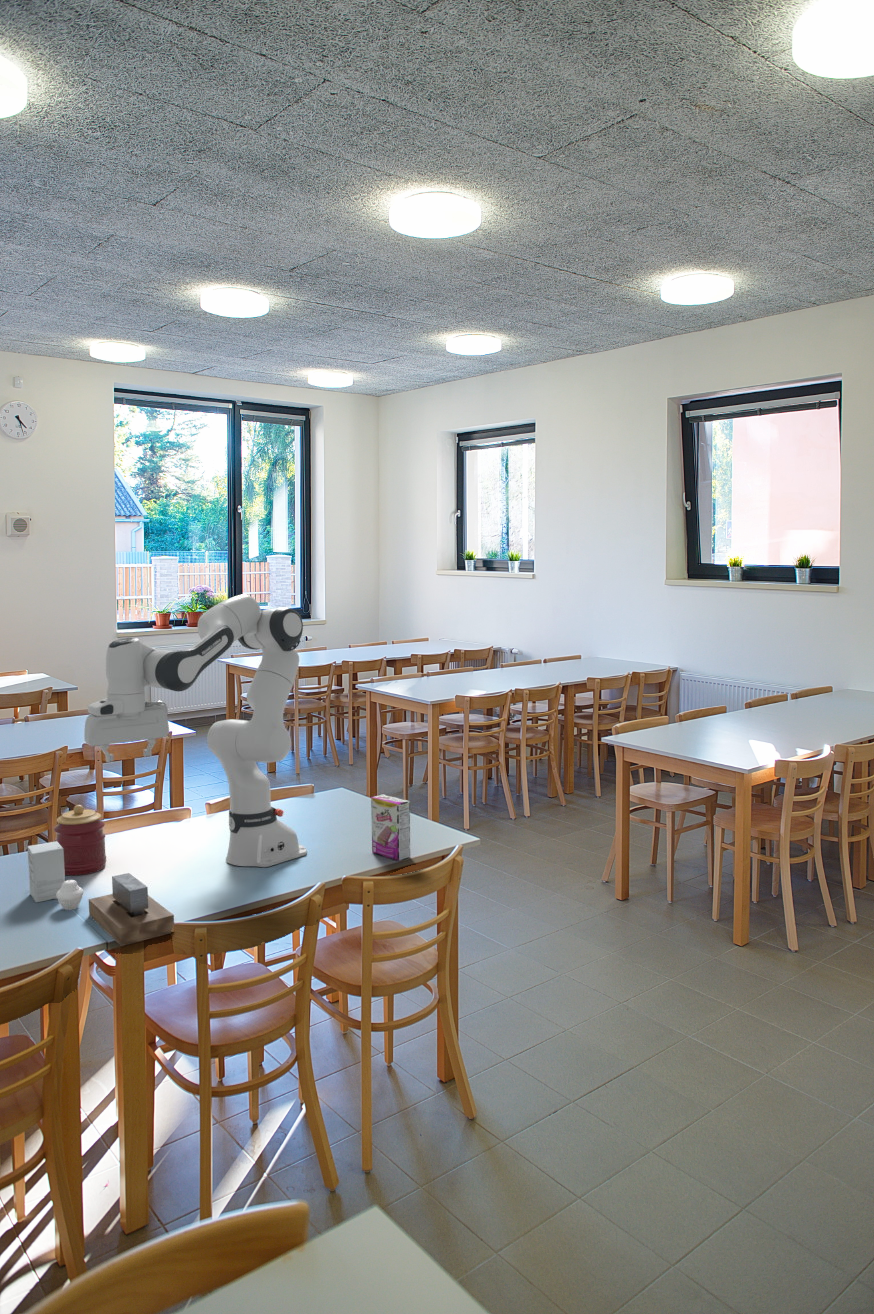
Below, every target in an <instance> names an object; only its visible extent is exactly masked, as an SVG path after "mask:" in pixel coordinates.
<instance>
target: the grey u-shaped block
mask: <svg viewBox="0 0 874 1314" xmlns="http://www.w3.org/2000/svg"><path fill="white" fill-rule="evenodd" d="M111 885H112V886H111V887H112V894H113V898H114V899H116V900H117V906H119V905H123V906H124V907H125V908H126V909H127V910H128V911H130V916H131V918H132V917H136V916H140V915H144V914H145V910H144V909H148V895H149V892H148V890H149V889H148V886H147V885H146V884H145V883H143V882H142V881H140V880H139V879H138V878H136V877H135V876H133V875H132V874H131V873H130V872H128V873H123V874H118V875H113V876H111Z"/></svg>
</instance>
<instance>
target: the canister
mask: <svg viewBox="0 0 874 1314" xmlns="http://www.w3.org/2000/svg"><path fill="white" fill-rule="evenodd" d="M72 809H73V810H68V811H66V812H63V813H62V814H61V815H60V816H58V817H57V819H56V822H57V825H55V826H54V827H53V832H55V839H54V841H53V842H55V841H57V842H58V843H59V844H60V845H61V847H62V848H63V851H64V869H65V876H81V875H89V874H93V873H96V872H99V871H101V870H103V869H104V868H105V867H106V864H107V855H106V834H105V832H104V827H105V824H106V823H105V822H104V821H103V820H101V818H102V813H100V812H97V811H95V810H94V809H89V808H84V806H83V805H82V804H76V805H74V807H73V808H72Z"/></svg>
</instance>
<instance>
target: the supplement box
mask: <svg viewBox="0 0 874 1314" xmlns="http://www.w3.org/2000/svg"><path fill="white" fill-rule="evenodd" d="M26 848H27V858H28V859H27V862H28V876H29V877H28V878H29V894H30V895H31V897H32V899H33V901H34V902H35V903H41V902H45V901H50V900H55V899H57V897H56V894H57V892H58V891H59V890H60V888H61V887H62V883H63V882H64V881H66V875H65V869H64V851H63V848H62V847H61V845H60V844H59V843H58V842H57V841H55V842H54V841H50V842H44V843H40V844H39V843H37V844H32V845H27V846H26Z"/></svg>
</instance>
